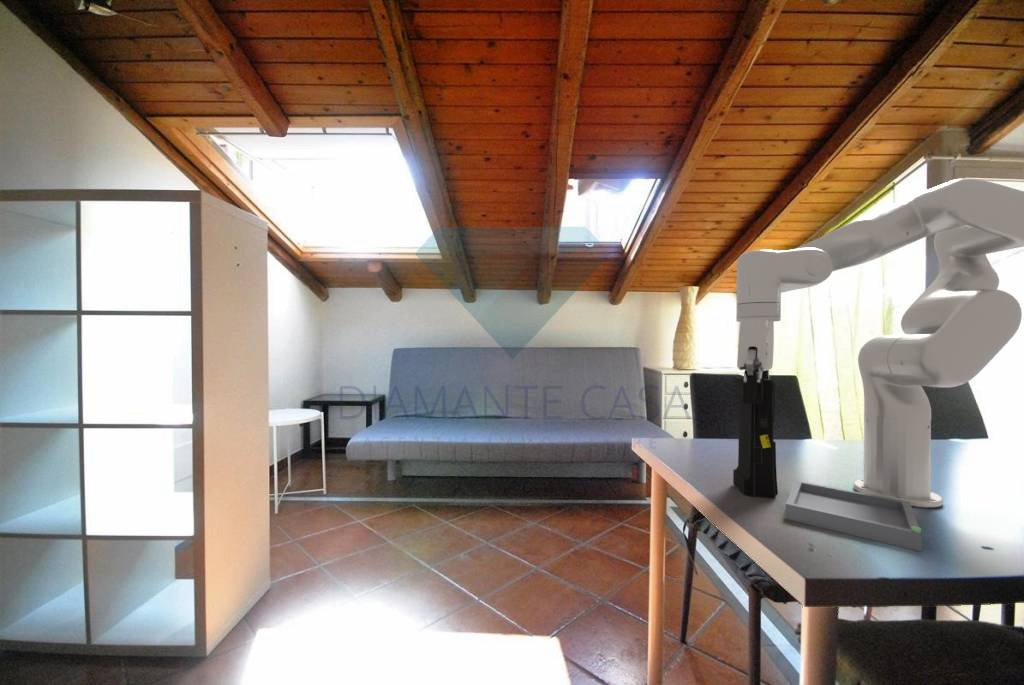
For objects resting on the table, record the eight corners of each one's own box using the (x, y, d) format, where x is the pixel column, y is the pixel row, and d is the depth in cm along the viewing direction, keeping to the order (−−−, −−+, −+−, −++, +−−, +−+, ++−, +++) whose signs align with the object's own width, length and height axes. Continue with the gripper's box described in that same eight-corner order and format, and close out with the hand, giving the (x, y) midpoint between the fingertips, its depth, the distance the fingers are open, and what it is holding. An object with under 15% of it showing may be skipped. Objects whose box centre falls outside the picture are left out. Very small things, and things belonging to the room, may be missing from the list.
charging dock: (795, 493, 79) (796, 477, 79) (909, 516, 69) (909, 498, 69) (785, 518, 67) (785, 500, 67) (921, 551, 57) (921, 529, 57)
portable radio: (781, 501, 75) (783, 367, 75) (746, 498, 76) (748, 366, 76) (764, 486, 83) (766, 365, 83) (732, 484, 84) (734, 364, 84)
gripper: (745, 317, 89) (744, 396, 89) (726, 311, 76) (725, 404, 75) (786, 316, 84) (785, 399, 84) (773, 309, 71) (772, 408, 70)
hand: (756, 401), depth 80 cm, fingers closed on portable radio, 8 cm apart
